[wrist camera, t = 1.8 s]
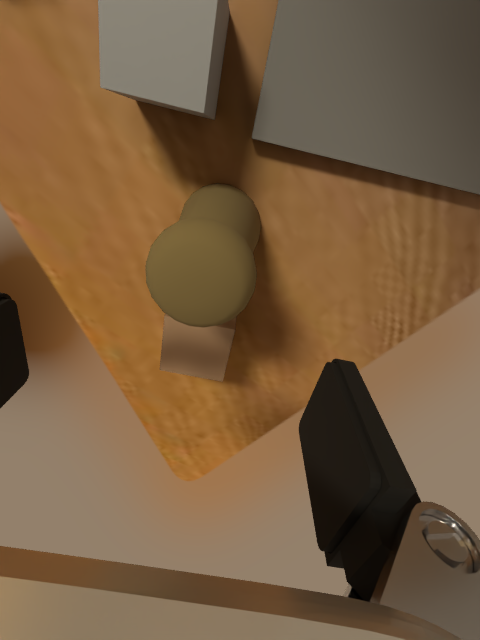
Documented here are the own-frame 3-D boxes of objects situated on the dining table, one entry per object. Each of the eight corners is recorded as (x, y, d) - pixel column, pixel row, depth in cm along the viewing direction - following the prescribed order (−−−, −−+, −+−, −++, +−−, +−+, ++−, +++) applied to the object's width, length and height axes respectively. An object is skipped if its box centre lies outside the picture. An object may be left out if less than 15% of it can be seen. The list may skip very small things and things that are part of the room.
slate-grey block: (138, -13, 16) (96, -71, 12) (229, 12, 16) (221, -34, 12) (135, 100, 18) (100, 87, 14) (214, 120, 19) (203, 113, 15)
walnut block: (180, 285, 25) (164, 315, 21) (238, 298, 25) (235, 329, 21) (174, 334, 27) (159, 370, 23) (227, 344, 28) (222, 381, 23)
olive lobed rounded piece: (277, 234, 22) (294, 301, 13) (216, 280, 24) (193, 367, 15) (225, 163, 20) (200, 181, 10) (163, 220, 22) (95, 278, 13)
